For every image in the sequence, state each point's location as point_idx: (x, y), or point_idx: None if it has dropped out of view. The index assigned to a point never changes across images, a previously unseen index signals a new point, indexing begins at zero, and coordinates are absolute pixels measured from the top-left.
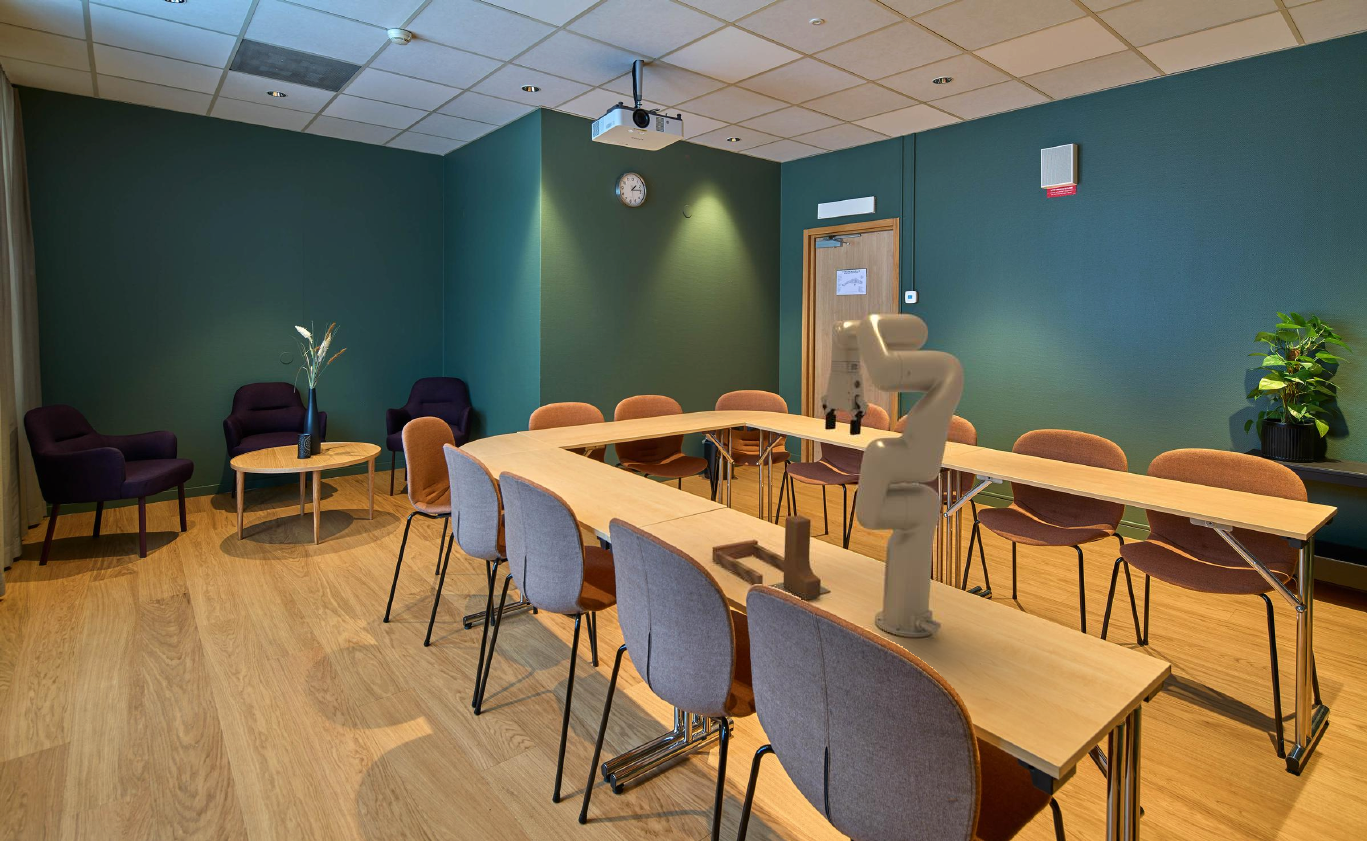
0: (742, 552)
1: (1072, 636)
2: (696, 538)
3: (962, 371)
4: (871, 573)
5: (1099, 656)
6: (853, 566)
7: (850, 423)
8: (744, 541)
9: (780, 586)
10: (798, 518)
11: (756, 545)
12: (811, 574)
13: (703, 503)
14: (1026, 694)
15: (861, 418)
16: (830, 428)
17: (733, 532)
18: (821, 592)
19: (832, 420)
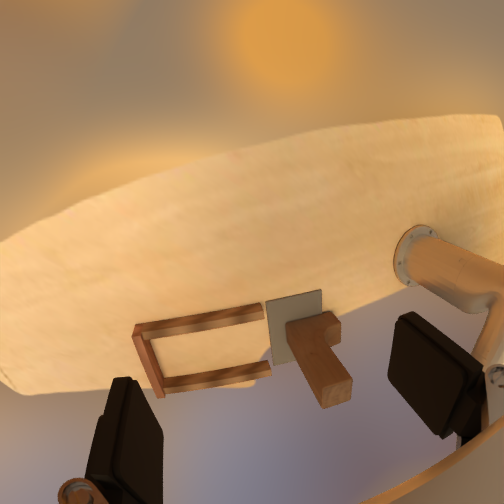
0: (151, 352)
1: (471, 123)
2: (63, 367)
3: None
4: (282, 186)
5: (489, 141)
6: (243, 196)
7: (428, 422)
8: (138, 354)
9: (281, 343)
10: (339, 395)
11: (145, 336)
12: (329, 332)
13: None
14: (492, 241)
15: (501, 380)
16: (152, 416)
17: (37, 309)
18: (320, 303)
19: (143, 456)
